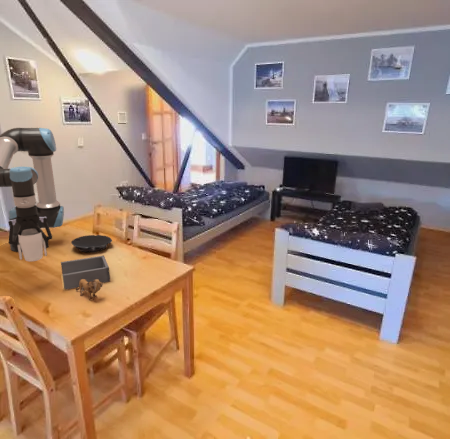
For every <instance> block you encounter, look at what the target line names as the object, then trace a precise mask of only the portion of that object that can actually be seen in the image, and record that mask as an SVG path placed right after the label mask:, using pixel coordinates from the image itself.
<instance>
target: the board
mask: <svg viewBox="0 0 450 439" xmlns="http://www.w3.org/2000/svg"><path fill="white" fill-rule="evenodd" d="M112 242H113V239H112V238H111V237H109V236H107V235H102V234H96V235H94V234H89V235H82V236H79V237H76V238H74V239H73V240H71V244H72V246H73V247H74V248H76V249H77V250H79V252H81V253H98V252H101V251H103V250H105V249H106V248H107V247H108V245H109V244H111V243H112Z"/></svg>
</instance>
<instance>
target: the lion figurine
mask: <svg viewBox="0 0 450 439" xmlns="http://www.w3.org/2000/svg"><path fill="white" fill-rule="evenodd" d="M103 285H104V283H102V282H100V281H99V280H98V279H96V280H93V281H91V282H87V281H86V280H85V279H81V280H80V282H79V287H78V288H75V291H79V295H80V297H82V296H83V292H87V293H88V298H89V301H92V300H93V297H94V298H97V297H98V296H97V294H96V293H98V292H99V291H100V290H101V289H102V288H103Z"/></svg>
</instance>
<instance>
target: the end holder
mask: <svg viewBox="0 0 450 439" xmlns="http://www.w3.org/2000/svg"><path fill="white" fill-rule="evenodd" d="M107 262H108V261H107V259H106V257H105V255H100V256H99V255H98V256H92V257H86V258H79V259H73V260H65V261H61V262H60V266H61V267H60V268H61V274H60V278H61V284H62V291H66V290H71V289H78V288H79V282H80V280H81V279H85V280H86V281H87V282H91V281H93V280H96V279H98V280H99V281H100V282H102V283H103V284H104V283H109V282H111V276H110V267H109V264H108V263H107Z"/></svg>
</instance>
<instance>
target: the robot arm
mask: <svg viewBox="0 0 450 439" xmlns="http://www.w3.org/2000/svg"><path fill="white" fill-rule="evenodd" d="M56 151H57V146H56V140H55V137H54V134H53V132H52V130H51V129H50V128H44V127H14V128H10V129H7V130H5V131H4V132H2V133H1V134H0V188H8V187H10V188H11V189H12V195H13V202H14V206H13V207H12V208H10V209H9V210H8V227H9V232H8V244H9V248H10V250H11V251H13V252H16V253H18V256H19V260H20V261H21V260H23V252H22V250H21V247H20V244H19V237H18V235H21V234H22V231H23V230H26V229H36V230H37V231H38V233H40V232H41V233H42V237H43V253H44V257H47V256H48V253H47V251H48V250H47V249H49V247H50V245H49V241H50V240H53V235H52V232H51V229H50V228H52V229H53V228H60V227H62V226H63V224H64V216H65V214H64V213H65V210H64V206H63V205H61V202H59V201H58V200H57V195H56V184H55V181H54V180H55V178H54V173H53V163H52V157H54V152H56ZM18 152H27V154H28V156H29V157H30V158H31V159H32V165H33V167H31V166H15V167H14V166H13V167H11V168H9V166H10V164H11V161H12V159H13V156H14V155H15V154H17V153H18ZM35 185H36V191H37V197H38V202H37V201H36V200H37V199H36V194H35V187H34V186H35ZM42 229H45V231H46V233H45V232H44V231H43V230H42ZM46 234H47V235H46Z"/></svg>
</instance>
